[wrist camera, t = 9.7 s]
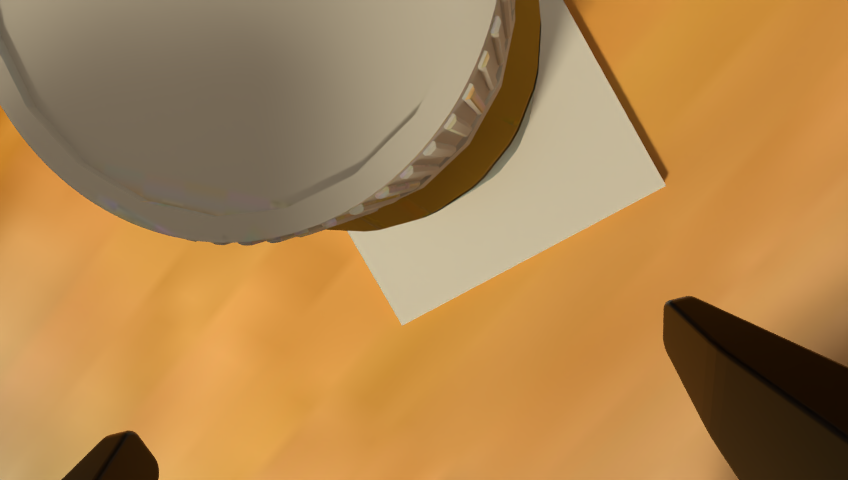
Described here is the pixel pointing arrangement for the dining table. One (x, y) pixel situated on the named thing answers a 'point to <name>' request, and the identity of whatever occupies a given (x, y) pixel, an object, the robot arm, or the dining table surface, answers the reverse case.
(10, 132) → the dining table surface
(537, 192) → the mat
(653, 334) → the dining table surface
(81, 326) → the dining table surface
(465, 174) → the bottle
